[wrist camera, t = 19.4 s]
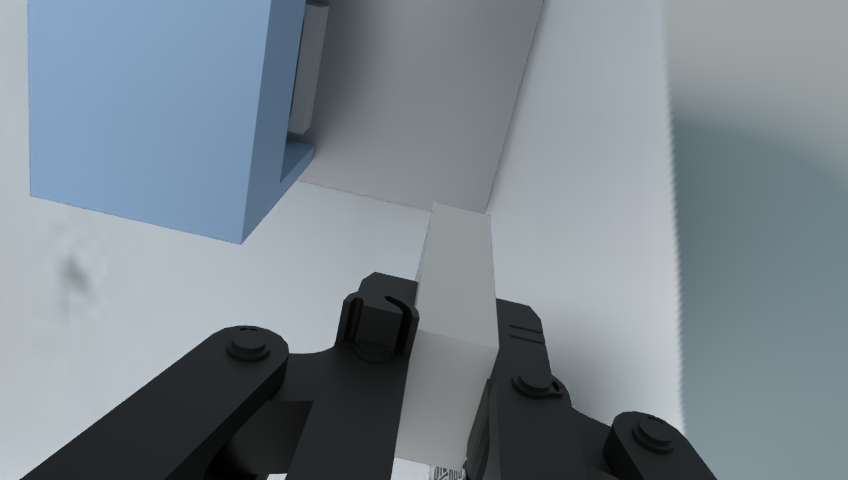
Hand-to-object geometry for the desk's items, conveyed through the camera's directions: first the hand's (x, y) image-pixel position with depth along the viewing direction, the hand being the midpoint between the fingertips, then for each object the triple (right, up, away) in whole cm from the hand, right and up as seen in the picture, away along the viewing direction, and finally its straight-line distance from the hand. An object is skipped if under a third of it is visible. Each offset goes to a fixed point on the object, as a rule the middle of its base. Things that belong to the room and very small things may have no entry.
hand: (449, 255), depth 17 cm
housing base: (-9, +12, +22) cm, 27 cm away
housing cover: (-11, +11, +20) cm, 26 cm away
